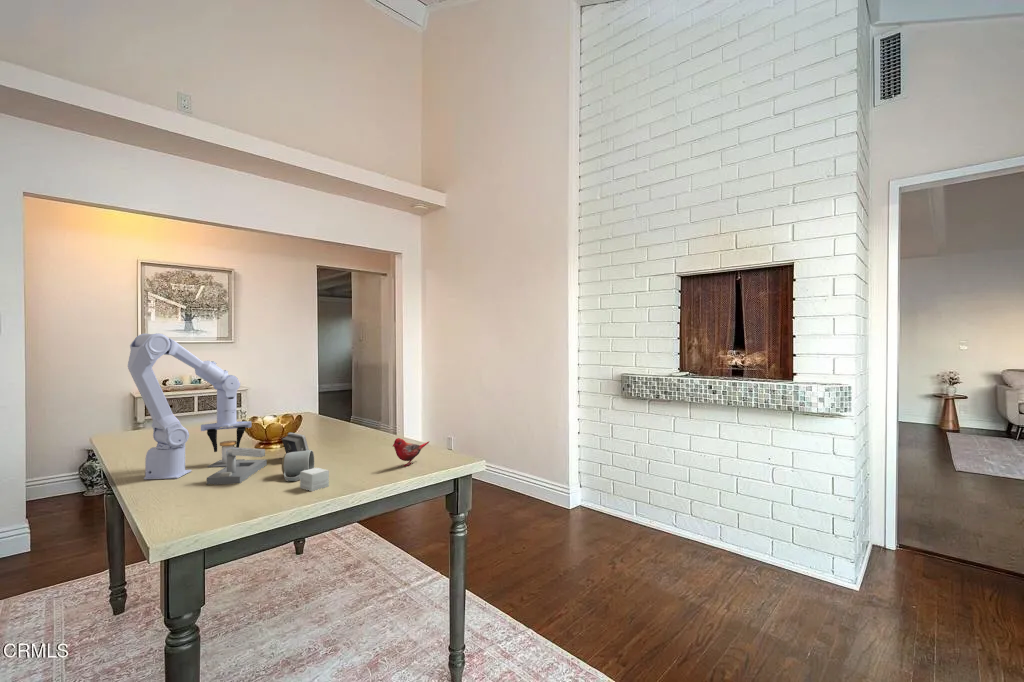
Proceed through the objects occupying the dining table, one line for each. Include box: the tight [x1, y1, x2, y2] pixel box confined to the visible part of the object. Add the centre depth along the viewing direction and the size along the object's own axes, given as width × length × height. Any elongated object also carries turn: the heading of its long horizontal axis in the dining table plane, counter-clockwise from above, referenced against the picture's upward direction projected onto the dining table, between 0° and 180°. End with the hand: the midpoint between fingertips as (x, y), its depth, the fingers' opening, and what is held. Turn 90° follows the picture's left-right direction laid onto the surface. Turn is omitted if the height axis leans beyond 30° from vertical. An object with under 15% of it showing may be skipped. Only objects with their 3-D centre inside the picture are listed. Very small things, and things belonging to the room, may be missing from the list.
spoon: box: [226, 446, 266, 458], centre depth 140 cm, size 3×12×2 cm, turn 78°
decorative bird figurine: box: [391, 437, 430, 467], centre depth 159 cm, size 3×18×10 cm, turn 148°
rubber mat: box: [207, 458, 246, 468], centre depth 158 cm, size 8×8×1 cm
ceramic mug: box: [281, 449, 315, 482], centre depth 144 cm, size 11×8×8 cm
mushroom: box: [219, 440, 237, 464], centre depth 158 cm, size 5×5×7 cm
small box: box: [299, 467, 330, 492], centre depth 134 cm, size 6×6×5 cm
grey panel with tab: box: [206, 455, 268, 485], centre depth 146 cm, size 9×20×7 cm, turn 7°
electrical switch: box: [281, 432, 310, 454], centre depth 165 cm, size 9×5×9 cm, turn 57°
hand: (226, 450), depth 158 cm, fingers open, 6 cm apart
